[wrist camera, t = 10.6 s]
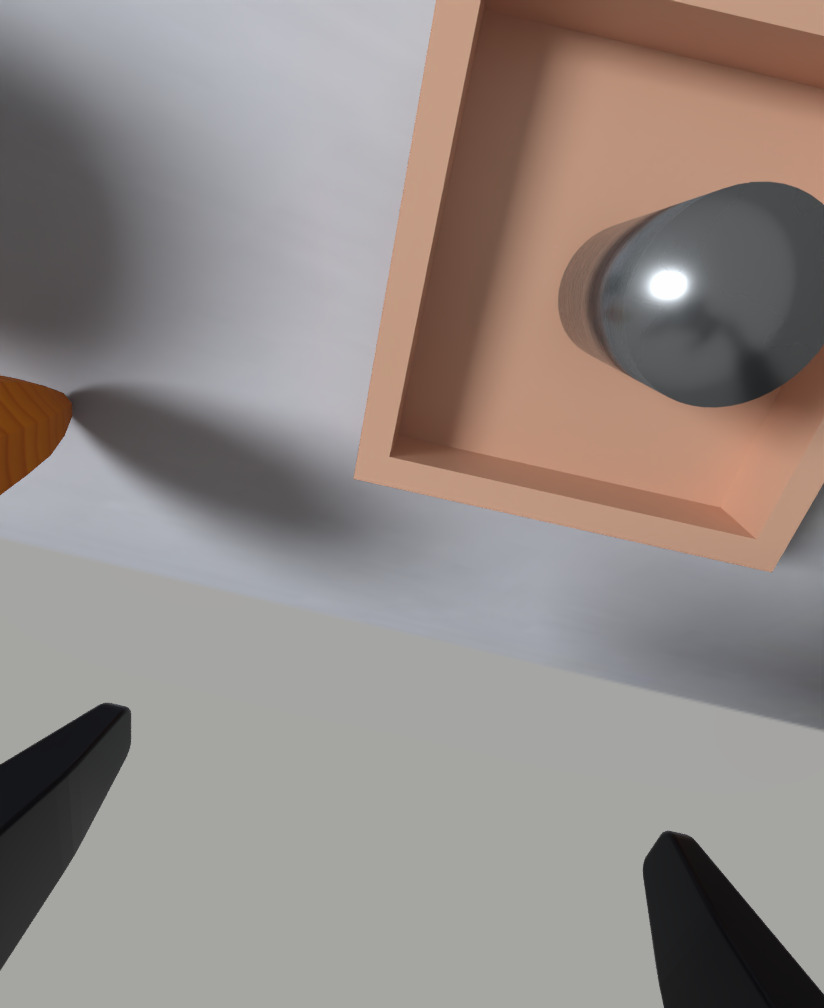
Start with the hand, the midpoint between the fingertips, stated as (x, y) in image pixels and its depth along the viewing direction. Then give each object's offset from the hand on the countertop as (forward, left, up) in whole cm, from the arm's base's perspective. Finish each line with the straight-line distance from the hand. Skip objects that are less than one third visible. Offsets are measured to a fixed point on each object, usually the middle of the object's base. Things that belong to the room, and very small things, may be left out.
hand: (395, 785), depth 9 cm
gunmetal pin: (-4, -8, -12) cm, 15 cm away
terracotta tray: (-4, -8, -13) cm, 16 cm away
